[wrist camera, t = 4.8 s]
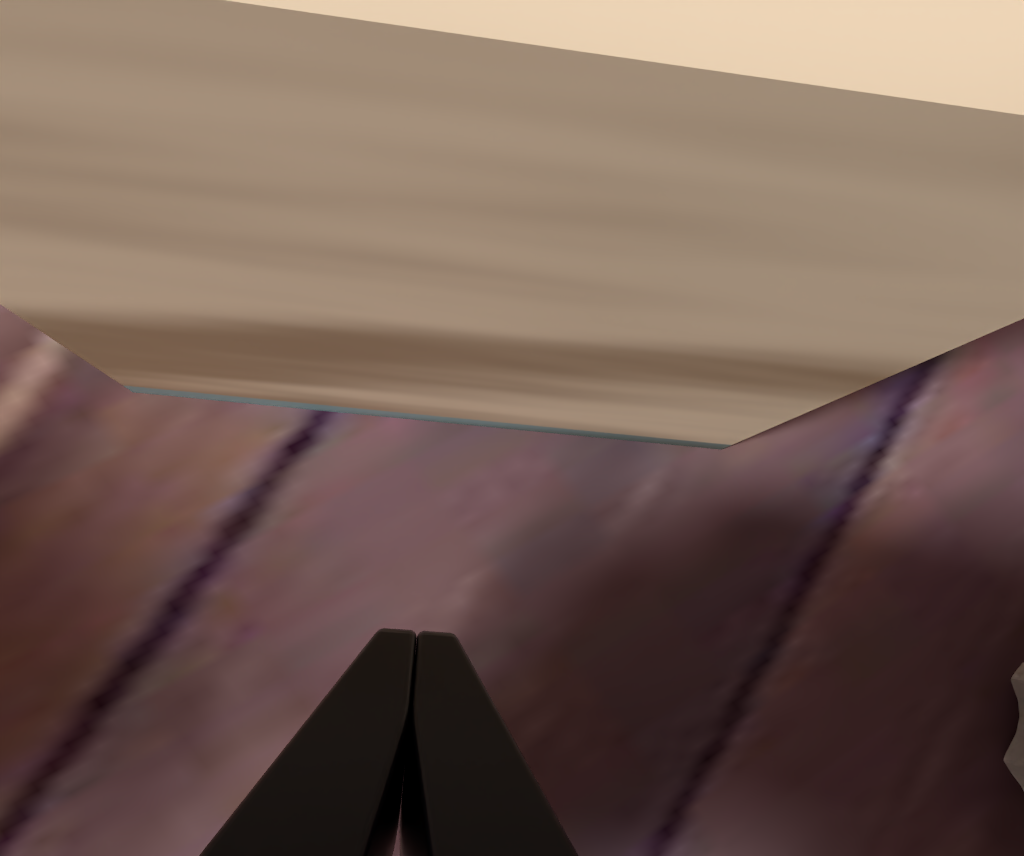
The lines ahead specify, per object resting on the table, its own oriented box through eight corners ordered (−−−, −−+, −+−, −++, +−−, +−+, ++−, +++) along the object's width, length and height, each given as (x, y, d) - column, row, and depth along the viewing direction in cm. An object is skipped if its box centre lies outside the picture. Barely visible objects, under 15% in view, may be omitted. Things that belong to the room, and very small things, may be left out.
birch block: (721, 449, 17) (1374, 166, 5) (133, 392, 16) (-649, -127, 4) (726, 229, 18) (1293, -415, 6) (173, 160, 17) (-373, -779, 5)
